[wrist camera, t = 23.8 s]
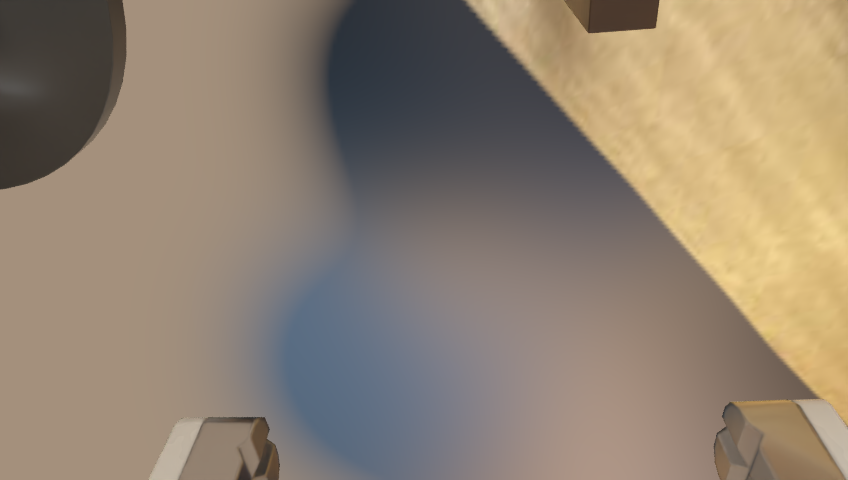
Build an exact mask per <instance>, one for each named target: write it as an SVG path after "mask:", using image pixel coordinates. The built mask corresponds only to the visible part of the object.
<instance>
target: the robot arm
mask: <svg viewBox="0 0 848 480" xmlns="http://www.w3.org/2000/svg"><path fill="white" fill-rule="evenodd" d="M722 417H723V419H724V422H725V424H726V427H725V428H723V429H722V430H721V431H719V432H718V433H717V435H716V439H715V443H714V457H715V464H716V468H717V472H718V475H719V477H720V480H848V428H847V426H846V425H845V423H844V422H843V421H842V419H841V418H840V416H839V415H838V413H837V412H836V411H835V409H834V408H833V406H832V405H831V404H830V403H829V402H827V401H826V400H824V399H812V400H791V401H790V400H768V401H744V402H730V403H729V404H728V405H727V406H725V409H724V412H723V415H722ZM269 430H270V429H269V427H268V424H267V422H266V419H265V418H264V417H263V418H262V417H228V418H227V417H208V418H181V419H180V420H179V421H178V422H177V423H176V424H175V426H174V427H173V429H172V431H171V433H170V436H169V437H168V440H167V442H166V444H165V446H164V448H163V450H162V453H161V454H160V456H159V459H158V461H157V463H156V465H155V467H154V469H153V471H152V473H151V476H150V478H149V480H278V479H279V467H280V464H279V456H278V452H277V449H276V446H275V444H273V443H272V442H270V441H269V440H268V439H267V436H268V433H269Z"/></svg>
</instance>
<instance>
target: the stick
mask: <svg viewBox="0 0 848 480" xmlns="http://www.w3.org/2000/svg"><path fill="white" fill-rule="evenodd" d="M564 1H565V2H566V4H567V5H568V7H569V8H570V9H571V11H572V12H573V13H574V15H575V16H576V17H577V19H578V20H579V21H580V23H581V24H582V25H583V27H584V28H585V29H586V31H587V32H588V33H600V32H613V31H626V30H640V29H653V28H655V27H656V22H657V14H658V7H659V0H564Z"/></svg>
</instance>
